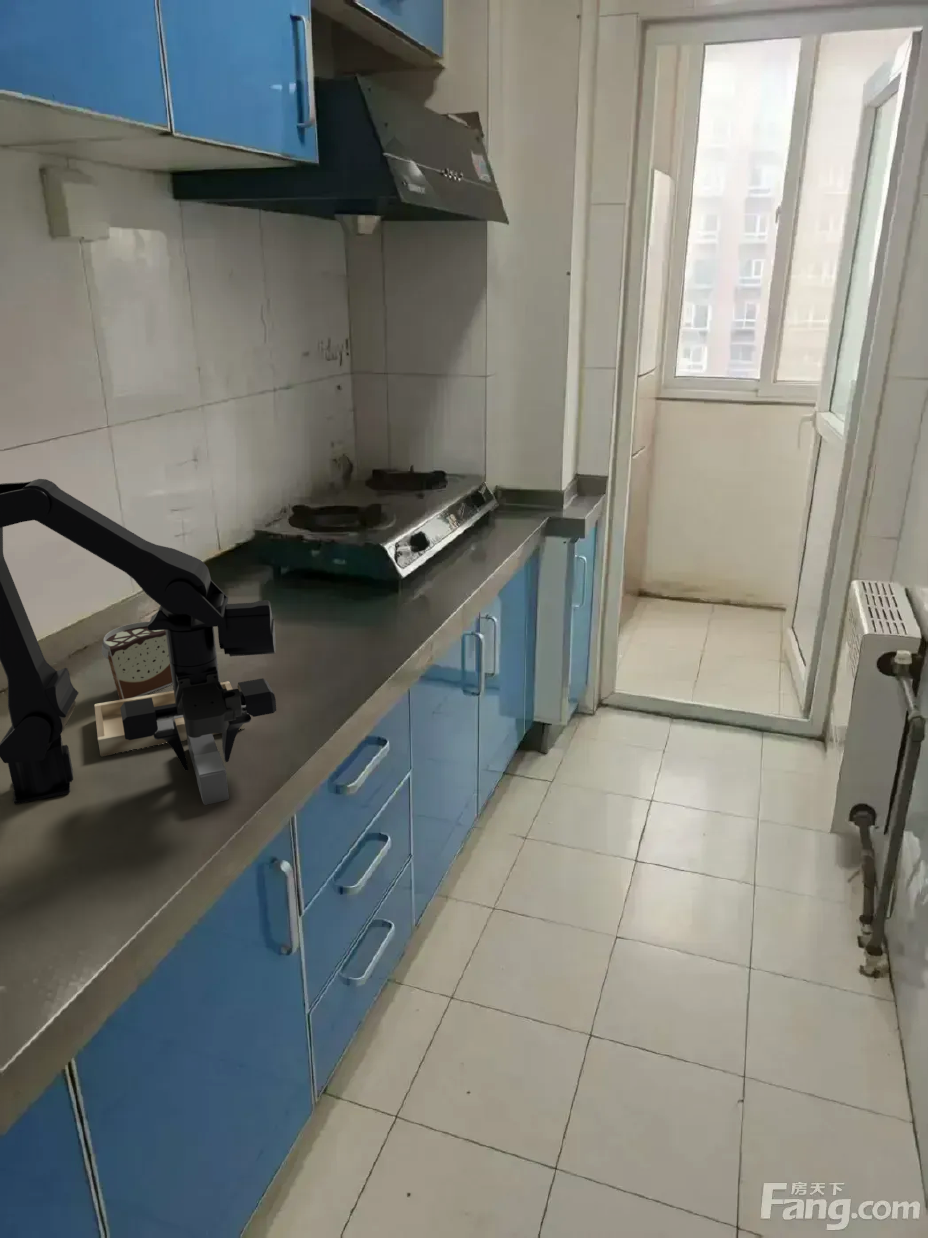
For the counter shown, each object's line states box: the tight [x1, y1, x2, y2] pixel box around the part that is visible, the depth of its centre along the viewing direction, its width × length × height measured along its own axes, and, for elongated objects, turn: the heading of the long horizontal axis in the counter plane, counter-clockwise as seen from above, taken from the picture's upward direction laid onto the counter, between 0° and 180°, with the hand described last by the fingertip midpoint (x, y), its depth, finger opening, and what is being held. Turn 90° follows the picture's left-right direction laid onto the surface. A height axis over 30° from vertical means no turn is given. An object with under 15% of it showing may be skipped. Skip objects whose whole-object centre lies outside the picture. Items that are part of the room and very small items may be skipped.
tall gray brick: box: [186, 732, 230, 806], centre depth 113 cm, size 15×3×4 cm, turn 24°
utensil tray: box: [94, 680, 245, 757], centre depth 126 cm, size 20×12×3 cm, turn 114°
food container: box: [101, 620, 173, 700], centre depth 136 cm, size 12×6×10 cm, turn 141°
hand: (206, 764), depth 113 cm, fingers open, 5 cm apart
